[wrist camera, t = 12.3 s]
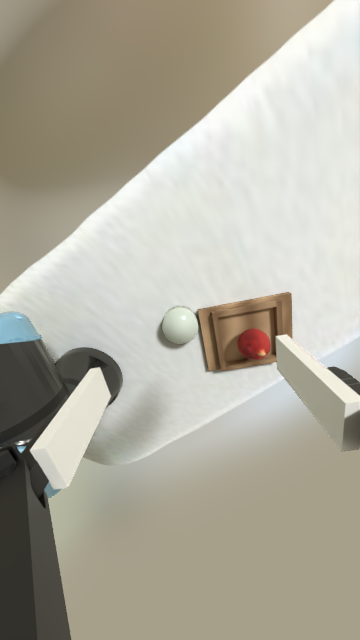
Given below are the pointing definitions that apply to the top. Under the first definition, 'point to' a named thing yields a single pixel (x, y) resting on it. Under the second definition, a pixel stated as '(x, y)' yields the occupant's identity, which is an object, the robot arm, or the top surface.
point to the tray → (243, 329)
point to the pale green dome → (180, 325)
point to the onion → (254, 344)
